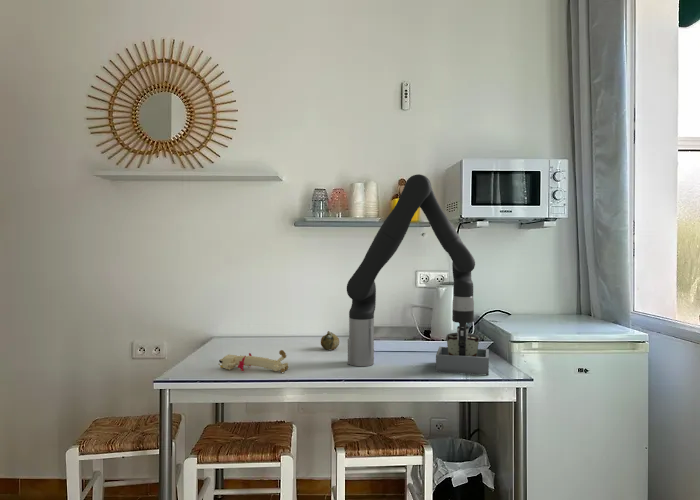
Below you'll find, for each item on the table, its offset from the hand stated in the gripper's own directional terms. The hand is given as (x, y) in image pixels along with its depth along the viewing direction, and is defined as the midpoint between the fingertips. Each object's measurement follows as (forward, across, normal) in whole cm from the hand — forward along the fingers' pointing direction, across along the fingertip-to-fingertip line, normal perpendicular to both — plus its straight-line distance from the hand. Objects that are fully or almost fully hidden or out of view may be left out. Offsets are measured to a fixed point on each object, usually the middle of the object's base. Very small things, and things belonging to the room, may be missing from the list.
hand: (462, 355), depth 195 cm
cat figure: (+6, -20, +73) cm, 76 cm away
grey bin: (+5, 0, 0) cm, 5 cm away
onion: (+5, +18, +55) cm, 58 cm away
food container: (+3, +1, 0) cm, 3 cm away
